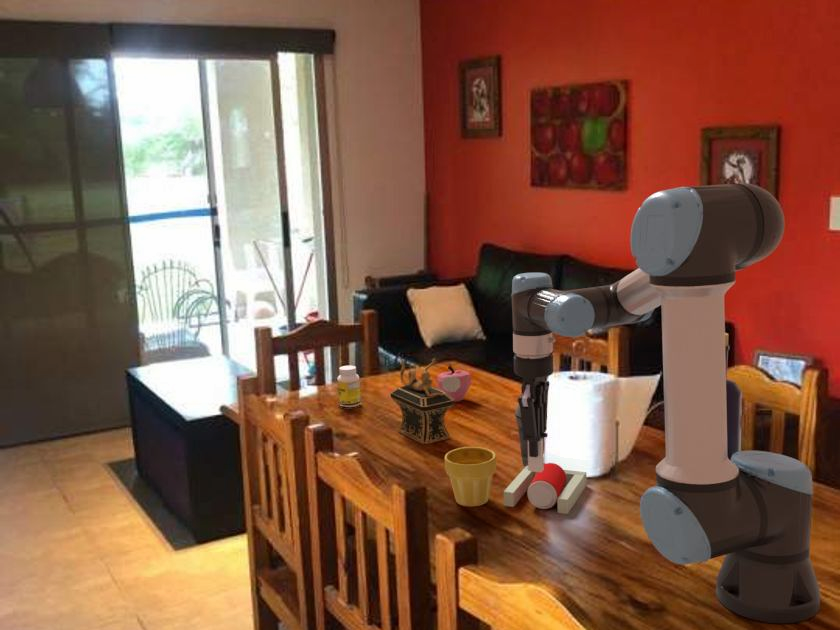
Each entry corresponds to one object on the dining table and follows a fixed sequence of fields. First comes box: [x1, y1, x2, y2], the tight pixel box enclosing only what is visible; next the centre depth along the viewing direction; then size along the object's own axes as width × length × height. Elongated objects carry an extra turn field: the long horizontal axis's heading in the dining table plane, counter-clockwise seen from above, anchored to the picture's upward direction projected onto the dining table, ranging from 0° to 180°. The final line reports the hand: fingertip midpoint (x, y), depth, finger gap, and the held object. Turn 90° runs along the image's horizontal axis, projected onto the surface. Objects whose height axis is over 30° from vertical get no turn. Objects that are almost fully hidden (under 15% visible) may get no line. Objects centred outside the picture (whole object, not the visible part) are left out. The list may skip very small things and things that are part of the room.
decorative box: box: [390, 356, 456, 445], centre depth 224 cm, size 20×10×20 cm, turn 31°
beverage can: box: [526, 462, 566, 510], centre depth 181 cm, size 6×6×12 cm
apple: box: [437, 364, 472, 403], centre depth 251 cm, size 10×9×10 cm
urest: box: [503, 466, 588, 515], centre depth 183 cm, size 15×13×3 cm
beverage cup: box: [514, 403, 546, 467], centre depth 200 cm, size 7×7×20 cm
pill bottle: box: [336, 365, 362, 407], centre depth 251 cm, size 6×6×11 cm
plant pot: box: [444, 446, 497, 508], centre depth 182 cm, size 10×10×10 cm
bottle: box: [725, 332, 743, 460], centre depth 190 cm, size 9×9×30 cm
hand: (536, 470), depth 176 cm, fingers closed
